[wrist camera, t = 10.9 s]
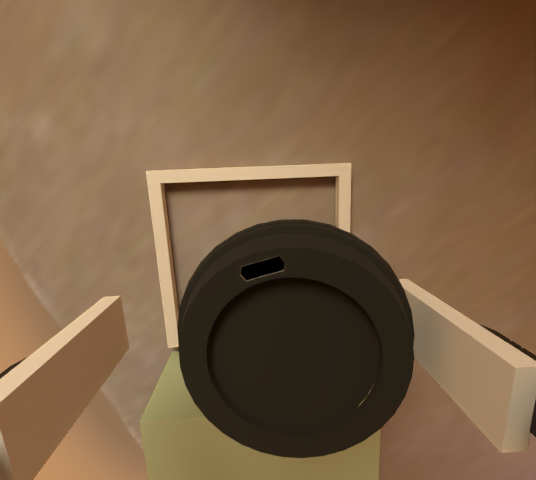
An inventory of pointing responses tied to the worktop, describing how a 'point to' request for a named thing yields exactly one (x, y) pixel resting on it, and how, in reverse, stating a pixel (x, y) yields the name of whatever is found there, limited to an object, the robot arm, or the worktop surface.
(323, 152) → the worktop surface
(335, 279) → the coffee cup
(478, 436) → the worktop surface
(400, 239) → the worktop surface
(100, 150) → the worktop surface
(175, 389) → the green block with frame
